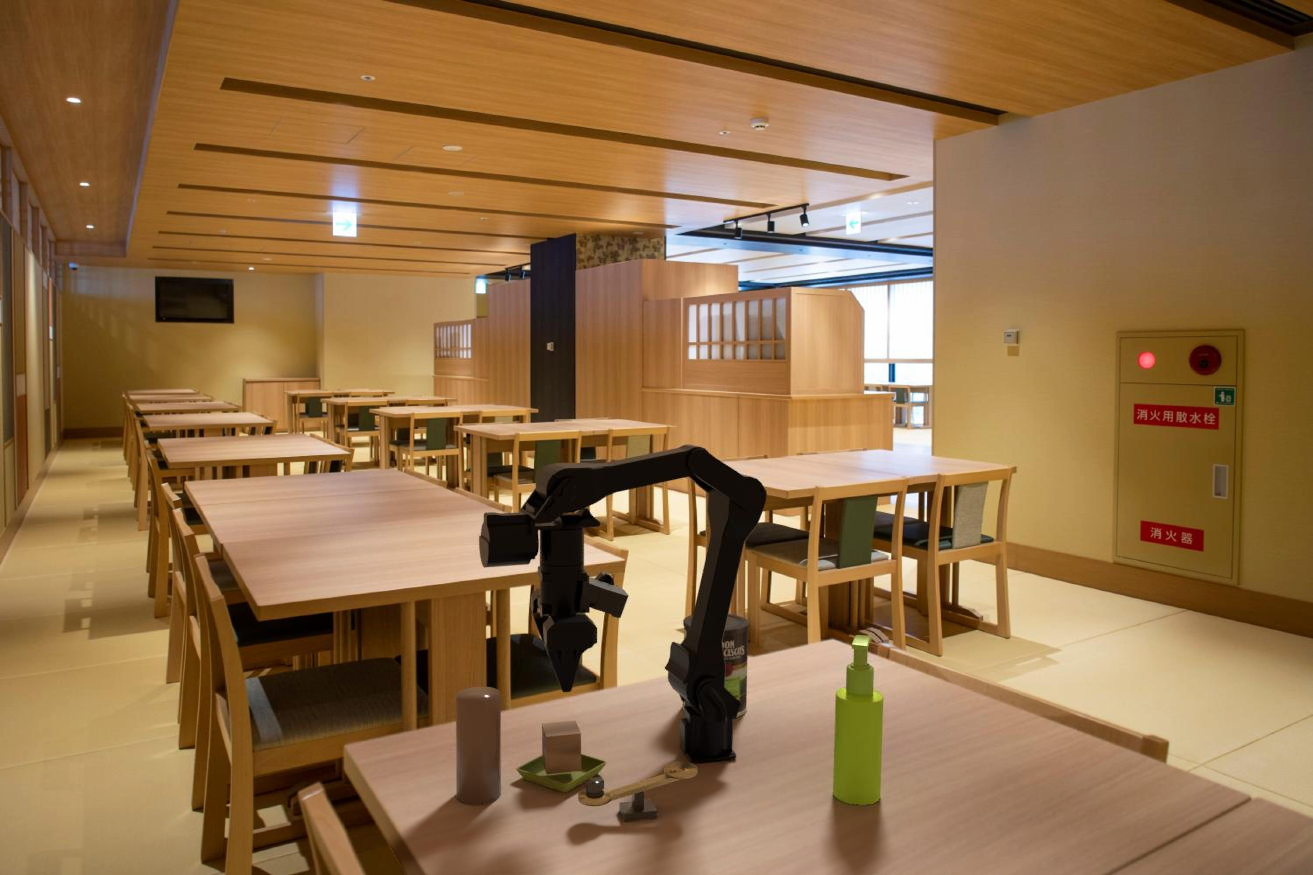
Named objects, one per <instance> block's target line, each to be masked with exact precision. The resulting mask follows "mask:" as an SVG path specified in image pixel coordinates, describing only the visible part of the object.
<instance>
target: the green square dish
mask: <svg viewBox="0 0 1313 875" xmlns="http://www.w3.org/2000/svg"><path fill="white" fill-rule="evenodd" d="M606 764H607V761H606V760H603V759H600V758H597V757H594V756H591V755H587V754H584V753H581V771H575V772H565V773H556V774H546V771H545V767H544V764H543V760H542V754H540V755H539V756H537V757H535V758H533V759H530V760H529V761H527V762H525V763H524V764H521V765H519V766H517V767H516V768H515V769H516V771H517V772H518V773H519V775H520V776H522V777H523V779H524V780H526V781H529V782H531V783H536V784H538V785H541V786H544V787H547V788H550V789H552V790H556V791H559V792H562V793H568V792H569V791H571V790H574V789H575V788H576V787H578V786H579V785H582V784H583V783H586V780H587V779H589V778H594V777H596V776H597V775H598V774H599V773H600V772H601V771H602V770H603V769H604V767H605V766H606Z"/></svg>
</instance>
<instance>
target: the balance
mask: <svg viewBox="0 0 1313 875" xmlns="http://www.w3.org/2000/svg"><path fill="white" fill-rule="evenodd" d="M697 775H698V767H697V765H695V764H694V763H693V762H688V761H682V760H681V761H680V760H679V761H673V762H668V763H667V764H666V765H665V766H664V773H663V774H660V775H656V776H653V777H650V778H649V777H648V778H646V779H643V780H640V781H636V782H634V783H631V784H627V785H624V786H621V787H618V788H614V789H611V790H609V789H607V788H605V780H604V779H603V778H601V777H596V776H594V777H592V778H589V779H587V780H586V781H585V787H584V788H583V789H581V790H580V791H579V792H578V794H577V799H578V800H577V801H578V802H579V803H580V804H581V805H584V806H587V807H601V806H605V805H608V804H609V803H610V802H613V801H616V800H619V799H622V798H626V797H629V796H631V797H632V798H631V801H629V800H628V801H620V802H619V809H618V811H619V813H620V815H621V817H622V820H623V822H624V823H628V822H638V821H646V820H657V819H658V810H657V807H656V805H655V803H654V802H653V799H652V798H650V799H645V791H648V790H652V789H655V788H658V787H661V786H663V785H664V786H665V785H668V784H671V783H674V782H677V781H680V780H690V779H692V778H695V777H696V776H697Z"/></svg>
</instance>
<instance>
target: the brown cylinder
mask: <svg viewBox="0 0 1313 875" xmlns="http://www.w3.org/2000/svg"><path fill="white" fill-rule="evenodd" d="M501 695H502V692H501V691H500V690H499V689H497V688H495V687H491V686H473V687H467V688H464V689H461V690H459V691H458V692H456V695H455V726H456V727H455V732H456V733H455V754H456V755H455V760H456V762H455V766H456V767H455V768H456V769H455V771H456V773H455V774H456V775H455V776H456V778H455V781H456V785H455V786H456V788H455V790H456V792H455V793H456V800H457V801H458V802H459V803H461V804H465V805H468V806H482V805H487V804H491V803H493V802H496V801H497V800H498V799H499V798H500V797H501V795H502V768H501V767H502V738H501V737H502V725H501V724H502V714H501V713H502V711H501V710H502V702H501V701H502V696H501Z"/></svg>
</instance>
